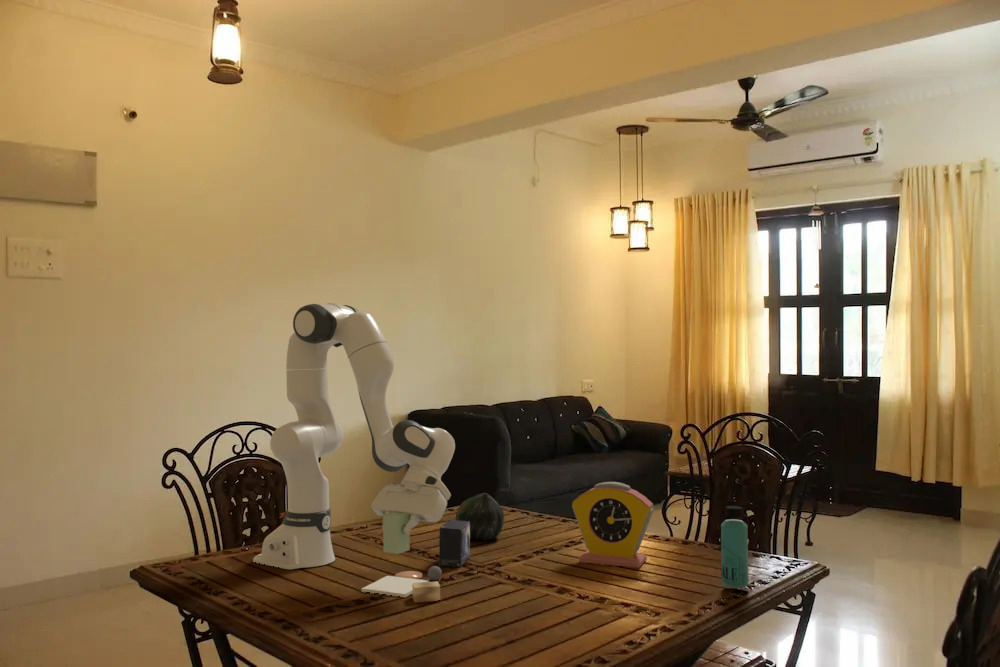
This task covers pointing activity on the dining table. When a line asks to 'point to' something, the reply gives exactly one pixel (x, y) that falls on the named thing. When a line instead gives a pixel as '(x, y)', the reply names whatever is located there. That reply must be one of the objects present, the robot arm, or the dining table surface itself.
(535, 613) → the dining table surface
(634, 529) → the retro mantel clock
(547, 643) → the dining table surface
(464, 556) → the small box
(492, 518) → the squash
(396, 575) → the peach flat disc
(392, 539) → the sage block
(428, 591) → the oak block
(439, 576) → the rubber ball
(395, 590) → the beige mat
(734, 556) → the beverage bottle
